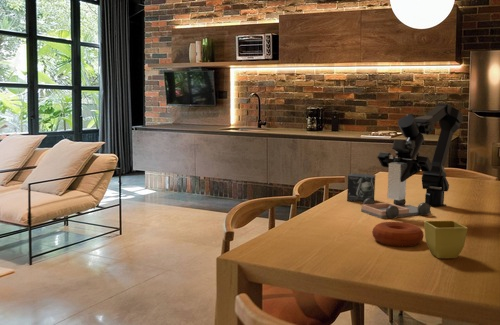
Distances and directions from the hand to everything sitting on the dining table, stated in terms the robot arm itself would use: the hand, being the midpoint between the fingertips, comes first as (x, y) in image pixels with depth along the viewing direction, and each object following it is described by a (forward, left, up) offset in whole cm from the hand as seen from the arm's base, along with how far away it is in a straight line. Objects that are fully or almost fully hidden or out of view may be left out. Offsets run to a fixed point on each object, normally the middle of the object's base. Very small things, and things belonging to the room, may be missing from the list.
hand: (395, 180), depth 198 cm
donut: (+18, +25, -14) cm, 34 cm away
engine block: (-1, -1, -7) cm, 7 cm away
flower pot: (+16, +42, -14) cm, 47 cm away
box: (-8, -31, -14) cm, 35 cm away
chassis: (-7, -7, -13) cm, 17 cm away
